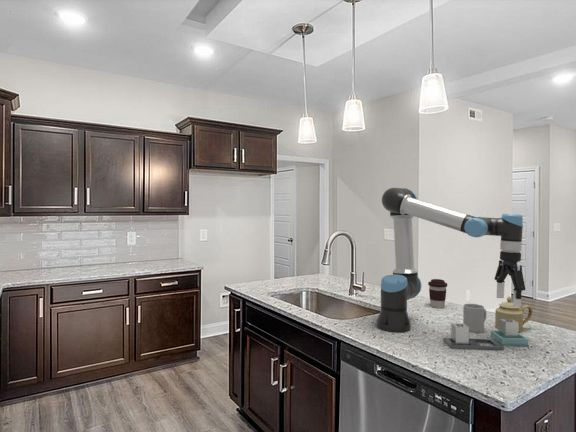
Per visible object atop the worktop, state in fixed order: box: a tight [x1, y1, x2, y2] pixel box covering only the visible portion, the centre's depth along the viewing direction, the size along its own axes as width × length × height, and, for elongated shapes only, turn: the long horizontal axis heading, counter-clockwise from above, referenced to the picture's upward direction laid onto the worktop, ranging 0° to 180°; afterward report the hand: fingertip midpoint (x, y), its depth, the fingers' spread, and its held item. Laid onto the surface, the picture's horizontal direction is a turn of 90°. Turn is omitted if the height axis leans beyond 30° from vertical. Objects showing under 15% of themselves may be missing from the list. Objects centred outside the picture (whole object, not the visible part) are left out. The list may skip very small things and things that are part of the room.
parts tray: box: [489, 329, 529, 347], centre depth 159 cm, size 10×10×3 cm
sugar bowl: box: [494, 295, 533, 333], centre depth 176 cm, size 15×11×15 cm
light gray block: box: [450, 322, 470, 345], centre depth 154 cm, size 5×5×8 cm
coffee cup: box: [427, 278, 448, 309], centre depth 213 cm, size 10×10×15 cm
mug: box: [462, 303, 487, 334], centre depth 174 cm, size 12×8×11 cm
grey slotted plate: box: [442, 337, 505, 351], centre depth 154 cm, size 20×9×1 cm, turn 86°
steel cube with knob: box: [499, 319, 519, 338], centre depth 158 cm, size 5×5×8 cm
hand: (508, 302), depth 158 cm, fingers open, 13 cm apart
